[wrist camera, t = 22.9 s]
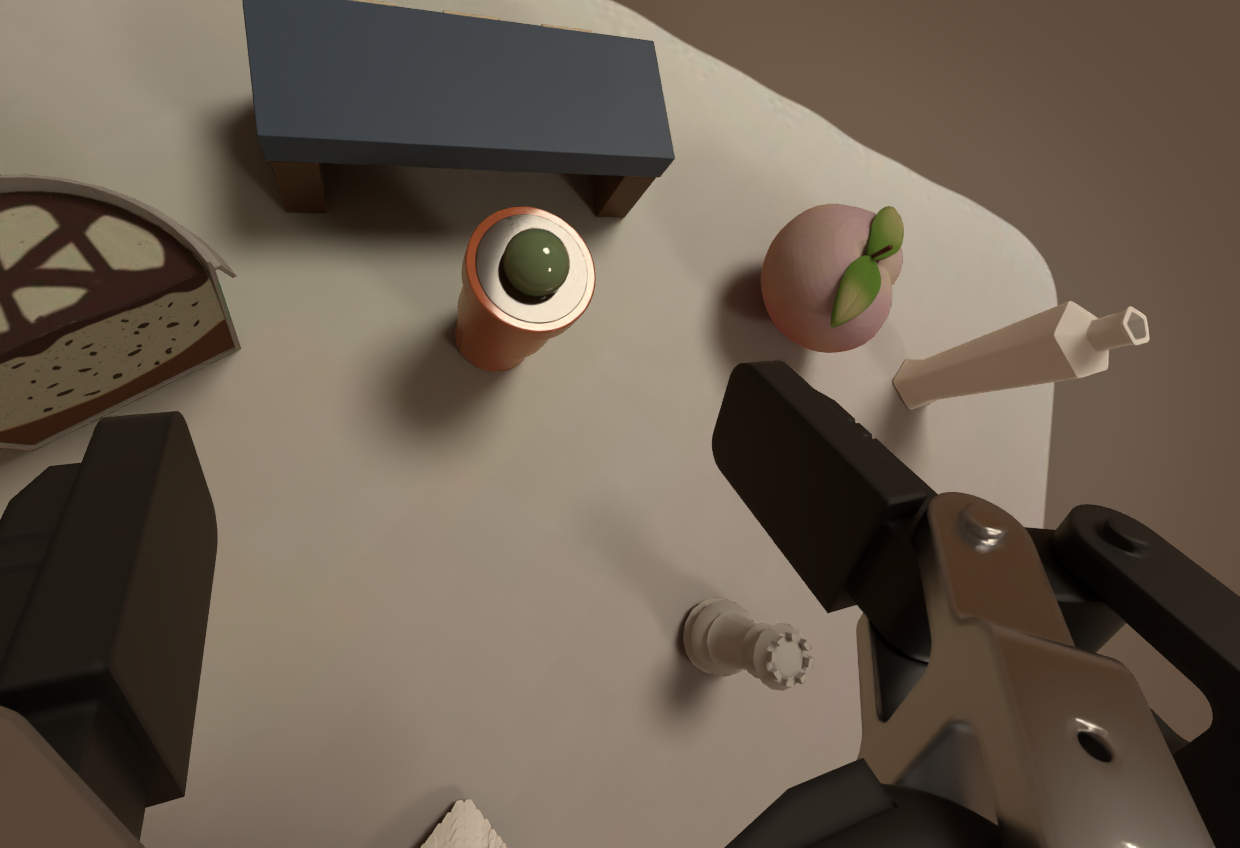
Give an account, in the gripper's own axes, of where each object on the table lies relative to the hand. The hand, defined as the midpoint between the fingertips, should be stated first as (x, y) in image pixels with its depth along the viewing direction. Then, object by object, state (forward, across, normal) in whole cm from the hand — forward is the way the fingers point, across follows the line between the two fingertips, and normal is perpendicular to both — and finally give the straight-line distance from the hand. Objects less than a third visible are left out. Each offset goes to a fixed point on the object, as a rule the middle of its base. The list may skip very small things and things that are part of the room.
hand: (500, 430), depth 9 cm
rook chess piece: (+10, -16, +26) cm, 32 cm away
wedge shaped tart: (+25, +13, +12) cm, 30 cm away
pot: (+24, -6, +12) cm, 27 cm away
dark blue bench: (+32, -5, +4) cm, 32 cm away
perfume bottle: (+20, -37, +16) cm, 45 cm away
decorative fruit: (+25, -26, +11) cm, 38 cm away
